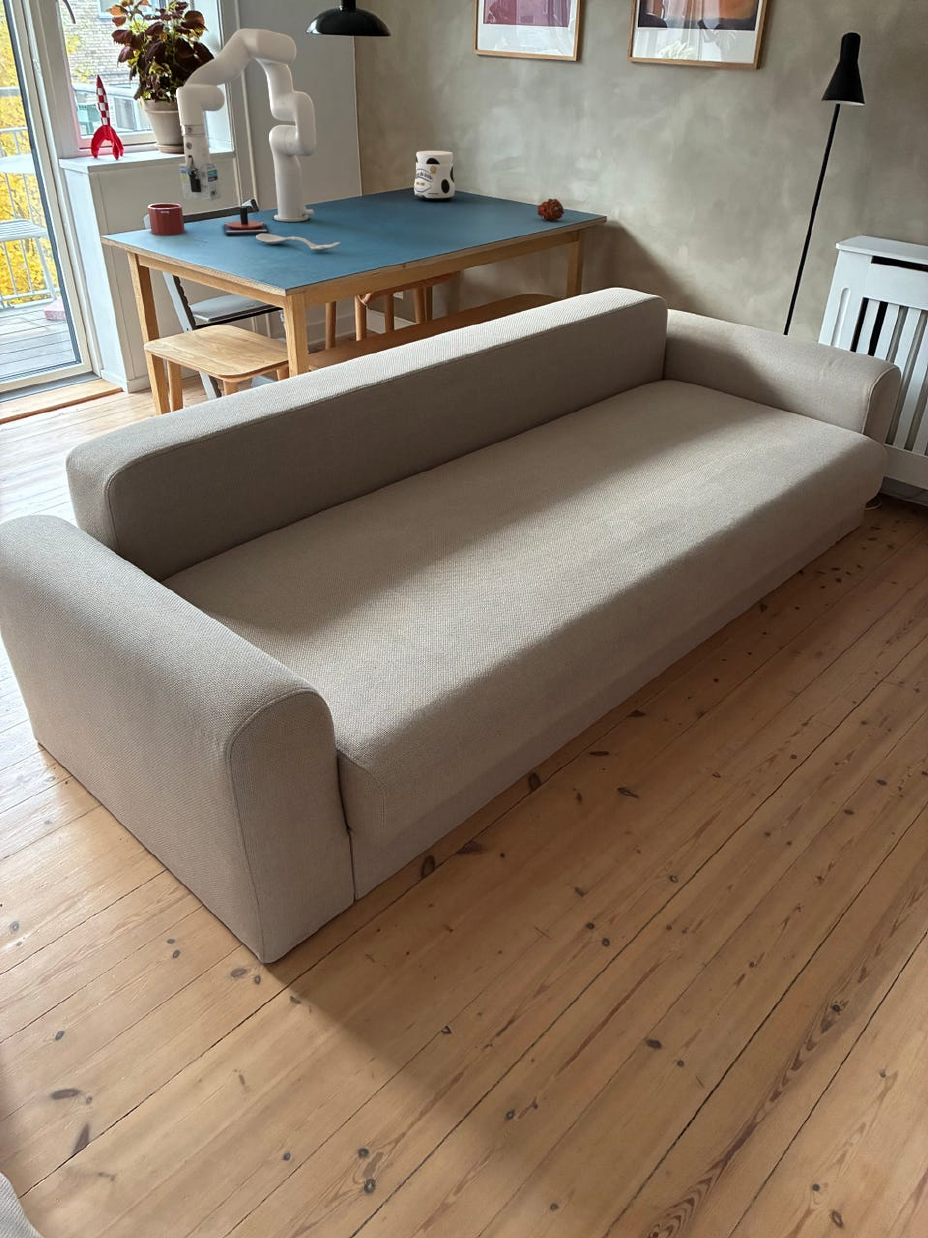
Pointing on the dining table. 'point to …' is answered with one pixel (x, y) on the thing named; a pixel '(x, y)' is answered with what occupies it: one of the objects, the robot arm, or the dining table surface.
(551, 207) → the red-brown bumpy ovoid
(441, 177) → the milk container
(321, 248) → the spoon
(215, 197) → the light bulb box
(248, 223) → the pot lid
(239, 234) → the blue-grey flat slab
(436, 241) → the dining table surface
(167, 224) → the pot
